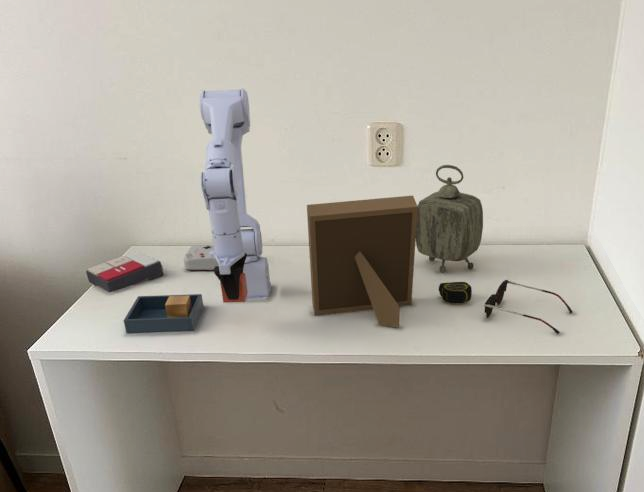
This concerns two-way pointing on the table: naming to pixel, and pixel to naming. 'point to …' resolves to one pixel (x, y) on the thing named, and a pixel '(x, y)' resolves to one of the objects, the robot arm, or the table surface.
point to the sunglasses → (498, 299)
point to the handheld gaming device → (200, 258)
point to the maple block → (178, 306)
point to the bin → (160, 315)
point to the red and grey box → (124, 271)
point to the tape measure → (455, 292)
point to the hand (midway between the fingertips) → (235, 293)
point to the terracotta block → (242, 290)
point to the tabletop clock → (449, 223)
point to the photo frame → (363, 256)
